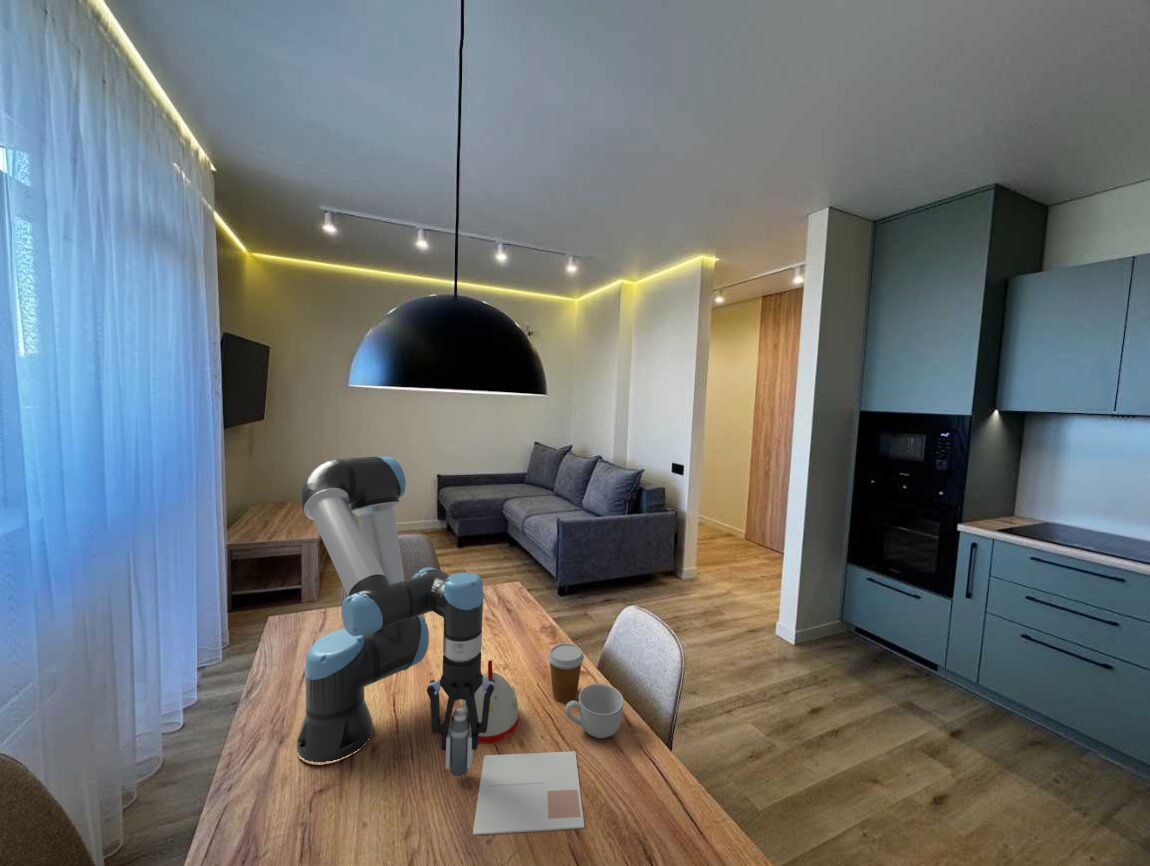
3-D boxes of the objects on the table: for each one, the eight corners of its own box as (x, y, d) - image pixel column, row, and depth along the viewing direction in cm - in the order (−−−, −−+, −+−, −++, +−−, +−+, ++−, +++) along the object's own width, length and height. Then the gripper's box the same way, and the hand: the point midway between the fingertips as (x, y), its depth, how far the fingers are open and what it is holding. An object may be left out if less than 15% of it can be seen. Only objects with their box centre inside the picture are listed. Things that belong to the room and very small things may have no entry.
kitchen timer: (458, 747, 100) (459, 682, 99) (461, 707, 113) (461, 649, 112) (520, 738, 103) (521, 675, 102) (515, 700, 116) (516, 644, 115)
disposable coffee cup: (579, 709, 113) (580, 664, 112) (542, 704, 115) (543, 659, 114) (585, 687, 122) (586, 644, 122) (552, 682, 124) (552, 640, 124)
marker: (448, 776, 89) (449, 719, 88) (451, 761, 93) (453, 706, 92) (467, 776, 89) (468, 718, 88) (469, 761, 93) (471, 706, 92)
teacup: (619, 714, 112) (620, 683, 111) (625, 746, 101) (626, 712, 101) (564, 714, 111) (564, 683, 111) (564, 746, 100) (565, 712, 100)
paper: (472, 835, 79) (472, 833, 79) (484, 756, 97) (484, 755, 97) (584, 828, 81) (584, 826, 81) (575, 752, 99) (575, 751, 99)
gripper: (415, 663, 85) (412, 780, 86) (502, 663, 86) (498, 777, 88) (424, 642, 92) (422, 750, 94) (505, 642, 94) (501, 747, 95)
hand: (459, 762), depth 91 cm, fingers closed on marker, 3 cm apart
